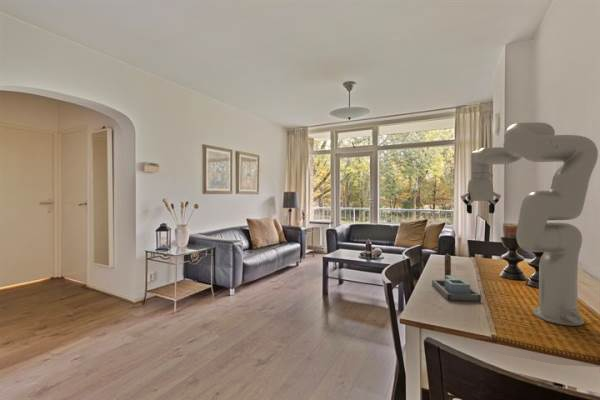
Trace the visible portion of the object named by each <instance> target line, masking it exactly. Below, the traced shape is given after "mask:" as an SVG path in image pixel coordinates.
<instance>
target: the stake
mask: <svg viewBox="0 0 600 400" xmlns="http://www.w3.org/2000/svg"><path fill="white" fill-rule="evenodd" d="M445 275H451V276H452V256H451V255H450V254H449V253H445V255H444V276H445Z"/></svg>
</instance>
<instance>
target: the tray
mask: <svg viewBox="0 0 600 400" xmlns="http://www.w3.org/2000/svg"><path fill="white" fill-rule="evenodd" d="M431 286H432V287H433V288H434V287H435V288H436V289H435V288H434V289H435V290H436V291H437V290H438V291H437V292H438V293H439V294H441V296H442V297H443V298H444V299H446V301H448V300H450V302H451V301H452V302H454V301H455V302H475V303H476V302H477V303H478V302H479V303H480V302H482V295H481V294H480V293H479V292H477V291H476V290H475V289H473V288H472V287H470V294H454V293H449V292H447V291H446V290H445V279H432V280H431Z"/></svg>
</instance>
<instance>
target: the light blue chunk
mask: <svg viewBox="0 0 600 400" xmlns="http://www.w3.org/2000/svg"><path fill="white" fill-rule="evenodd" d="M444 280H445V290H446V291H447V292H449V293H454V294H470V288H471V284H470V283H469V282H466V280H464V279H457V278H456V277H454V276H453V275H452V274H451V275H445V274H444Z"/></svg>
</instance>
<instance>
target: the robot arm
mask: <svg viewBox="0 0 600 400" xmlns="http://www.w3.org/2000/svg"><path fill="white" fill-rule="evenodd" d="M503 140H504V141H503V143H502V144H503V147H502V146H501V147H500V146H499V147H496V146H493V147H482V148H480V149H478V150H474V151H472V152H471V154H470V163H471V164H470V170H471V171H470V179H469V180H468V184H467V190H466V193H463V194H462V195H460V199H461V200H462V202H463V203H464V204H465V205H466V213H467V214H471V215H472V213H473V205H472V204H473V202H486V201H487V202H488V203H489V204H488V213H489V214H495V212H496V211H495V207H496V204H497V203H498V202H499V200H500V199H501V197H502V194H499V193H496V192H494V185H493V181H492V179H491V178H493V176H494V175H493V174H492V173H491V165H509V164H512V163H514V162H518V161H520V160H521V159H522V158H524V159H525V160H527V161H530V162H534V163H545V162H547V163H553V162H554V163H555V162H556V163H557V162H558V163H559V162H563V164H562V165H561V166H560V167H559V168H558V169H557V170H556V171H555V172H554V174H553V177H552V180H551V184H550V188H549V189H548V190H536V191H532V192H530V193H528V194H527V195H526V196H525V197H524V199H523V200H522V202H521V205H520V209H519V215H518V222H517V227H516V232H515V233H516V236H515V237H516V242H517V245H518V246H519V248H521V250H523V251H526V252H529V253H530V252H531V253H543V254H542V255H541V256H540V259H539V263H538V264H539V265H538V303H539V304H538V307H534V308H533V309H532V313H533V315H534V316H535V317H537V318H539V319H541V320H544V321H545V322H546V321H547V322H549V323H553V324H557V325H563V326H571V327H572V326H573V327H574V326H575V327H576V326H582V325H584V324H585V319H584V317H582V316H581V315H580V310H579V309H578V270H579V269H578V268H579V265H578V264H579V256H580V251H581V247H582V245H583V244H582V243H583V236H582V232H581V230H580V229H579V228H578V227H576V226H575V225H573V224H570V223H567V222H566V223H565V222H558V221H570V220H574V219H577V218H578V217H580V216H581V214H582V212H583V210H584V206H585V202H586V197H587V192H588V189H589V183H590V179H591V176H592V174H593V172H594V169H595V166H596V165H597V161H598V158H599V156H598V155H599V151H598V147H597V145H596V143H595V142H594V141H593V140H592V139H591V138H589V137H586V136H583V135H577V134H556V130H555V129H554V127H553V126H552V125H550V124H549V123H546V122H517V123H513V124H511V125H509V127H508V128H507V129H506V131H505V133H504V136H503ZM494 197H495V198H494ZM466 198H467V199H466ZM548 221H557V222H548Z"/></svg>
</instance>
